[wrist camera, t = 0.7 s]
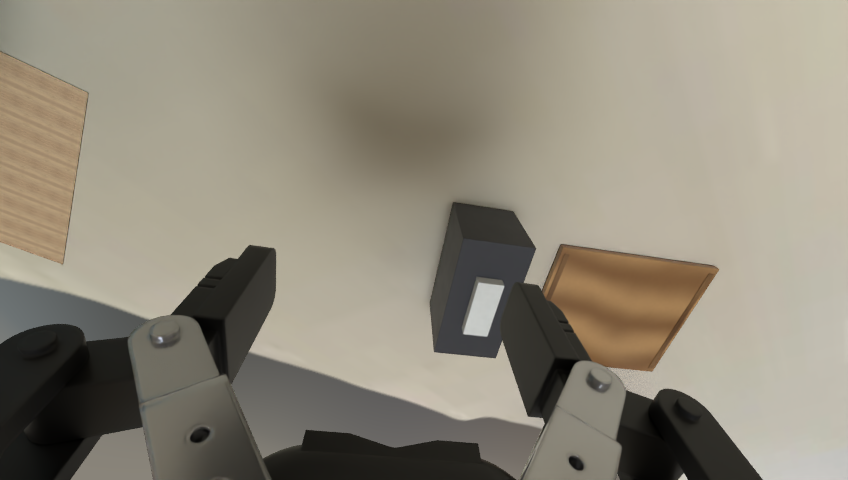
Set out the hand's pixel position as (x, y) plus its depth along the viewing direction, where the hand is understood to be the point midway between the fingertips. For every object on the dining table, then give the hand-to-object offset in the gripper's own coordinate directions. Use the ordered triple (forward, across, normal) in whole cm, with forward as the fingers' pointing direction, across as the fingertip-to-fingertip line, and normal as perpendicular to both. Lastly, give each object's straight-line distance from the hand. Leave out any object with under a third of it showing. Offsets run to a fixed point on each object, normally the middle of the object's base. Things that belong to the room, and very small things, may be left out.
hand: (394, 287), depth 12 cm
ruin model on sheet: (+19, +37, +3) cm, 42 cm away
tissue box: (+19, -8, +9) cm, 23 cm away
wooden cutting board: (+19, -24, +13) cm, 33 cm away
